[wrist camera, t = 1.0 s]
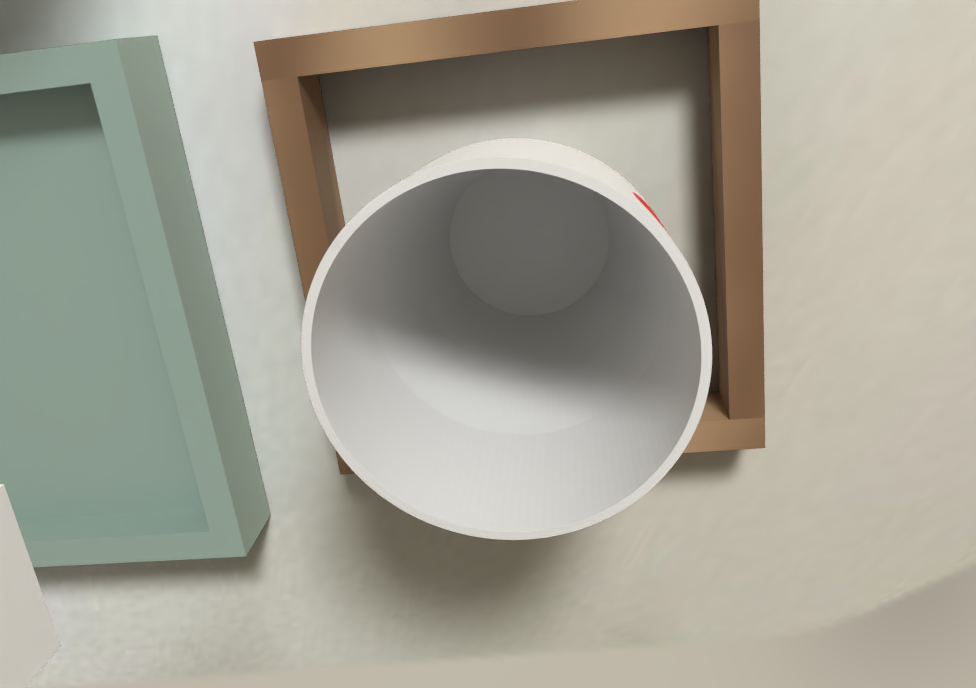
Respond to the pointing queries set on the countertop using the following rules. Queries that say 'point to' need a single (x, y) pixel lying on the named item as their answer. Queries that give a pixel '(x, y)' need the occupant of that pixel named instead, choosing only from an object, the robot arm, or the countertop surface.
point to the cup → (507, 342)
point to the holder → (593, 16)
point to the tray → (113, 322)
